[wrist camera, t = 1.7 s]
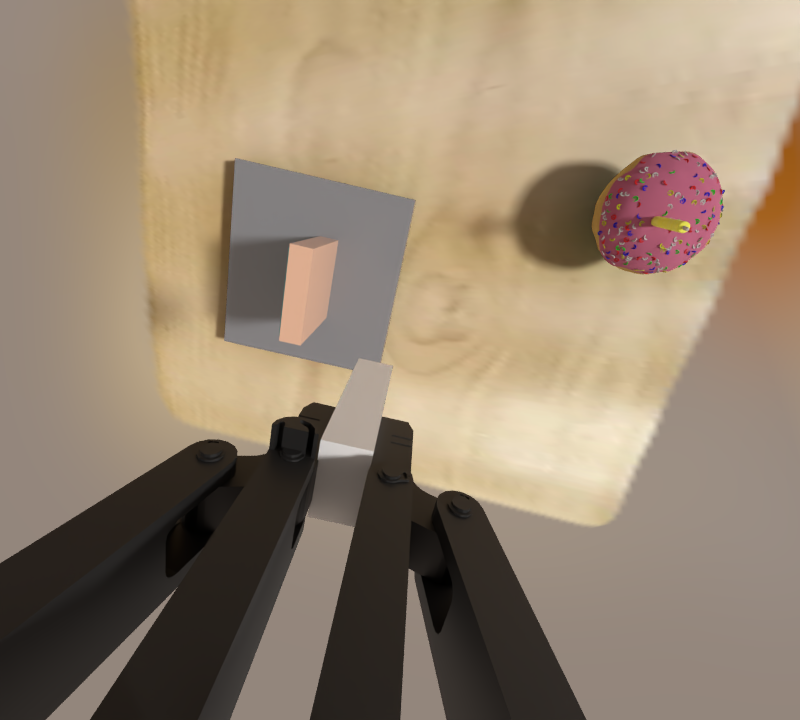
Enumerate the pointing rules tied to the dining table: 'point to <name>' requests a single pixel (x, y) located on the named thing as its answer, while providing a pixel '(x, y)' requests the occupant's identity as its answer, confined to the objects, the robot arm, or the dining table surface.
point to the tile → (306, 287)
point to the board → (353, 272)
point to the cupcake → (658, 212)
